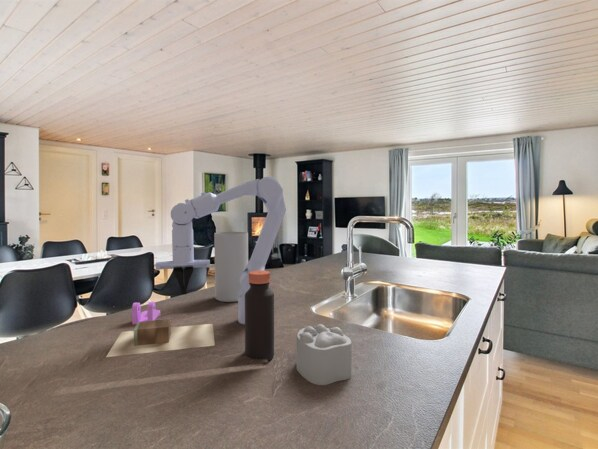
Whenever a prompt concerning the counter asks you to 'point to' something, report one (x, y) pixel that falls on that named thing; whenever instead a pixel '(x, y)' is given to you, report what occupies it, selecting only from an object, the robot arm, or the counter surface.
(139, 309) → the bracket
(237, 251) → the cylinder vase
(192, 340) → the birch board
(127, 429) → the counter surface
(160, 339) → the walnut block
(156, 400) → the counter surface
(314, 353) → the lumpy-topped squat cylinder
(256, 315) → the bottle
